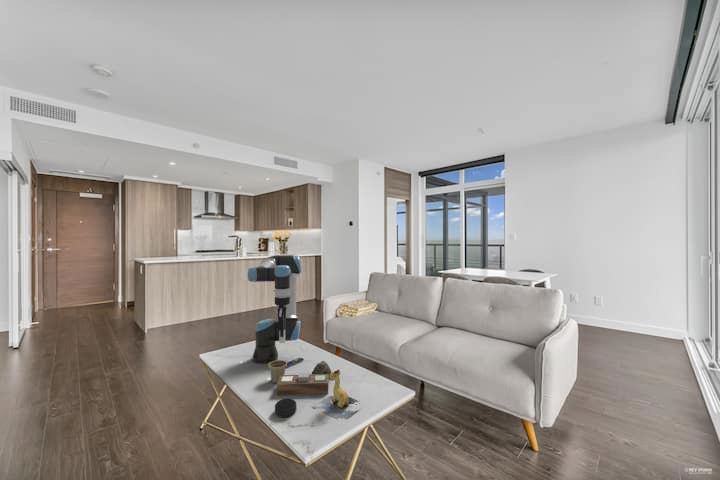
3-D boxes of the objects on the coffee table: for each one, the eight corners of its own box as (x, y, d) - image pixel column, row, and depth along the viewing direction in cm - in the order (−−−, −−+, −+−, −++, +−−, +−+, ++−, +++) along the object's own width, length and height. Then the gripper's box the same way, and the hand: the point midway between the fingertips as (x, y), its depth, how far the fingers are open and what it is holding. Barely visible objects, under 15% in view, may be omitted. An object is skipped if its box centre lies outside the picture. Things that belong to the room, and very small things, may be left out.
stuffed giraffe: (335, 392, 147) (336, 360, 147) (366, 406, 137) (367, 371, 136) (311, 408, 135) (311, 373, 134) (343, 425, 124) (343, 386, 123)
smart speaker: (278, 406, 135) (278, 397, 135) (298, 407, 135) (298, 397, 135) (271, 418, 126) (272, 408, 126) (293, 418, 126) (293, 409, 126)
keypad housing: (280, 385, 155) (280, 375, 155) (328, 383, 156) (328, 373, 156) (276, 395, 145) (276, 384, 145) (328, 393, 146) (328, 383, 146)
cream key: (282, 381, 152) (282, 376, 152) (293, 381, 153) (293, 376, 153) (281, 386, 147) (281, 381, 147) (291, 386, 148) (291, 380, 148)
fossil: (306, 376, 164) (313, 357, 167) (318, 379, 169) (325, 361, 173) (318, 382, 156) (326, 362, 160) (331, 385, 162) (337, 366, 165)
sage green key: (315, 380, 153) (315, 375, 153) (325, 380, 154) (325, 375, 154) (314, 385, 148) (314, 380, 148) (325, 385, 149) (325, 379, 149)
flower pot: (282, 385, 154) (282, 368, 154) (264, 383, 156) (264, 366, 156) (289, 377, 164) (290, 361, 164) (273, 375, 165) (273, 359, 165)
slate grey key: (299, 377, 153) (299, 372, 153) (309, 377, 153) (309, 372, 153) (297, 382, 148) (297, 377, 148) (308, 382, 148) (308, 377, 148)
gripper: (276, 293, 162) (276, 337, 163) (272, 299, 149) (272, 347, 150) (291, 293, 162) (291, 337, 163) (288, 299, 149) (287, 347, 150)
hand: (282, 342), depth 157 cm, fingers closed
